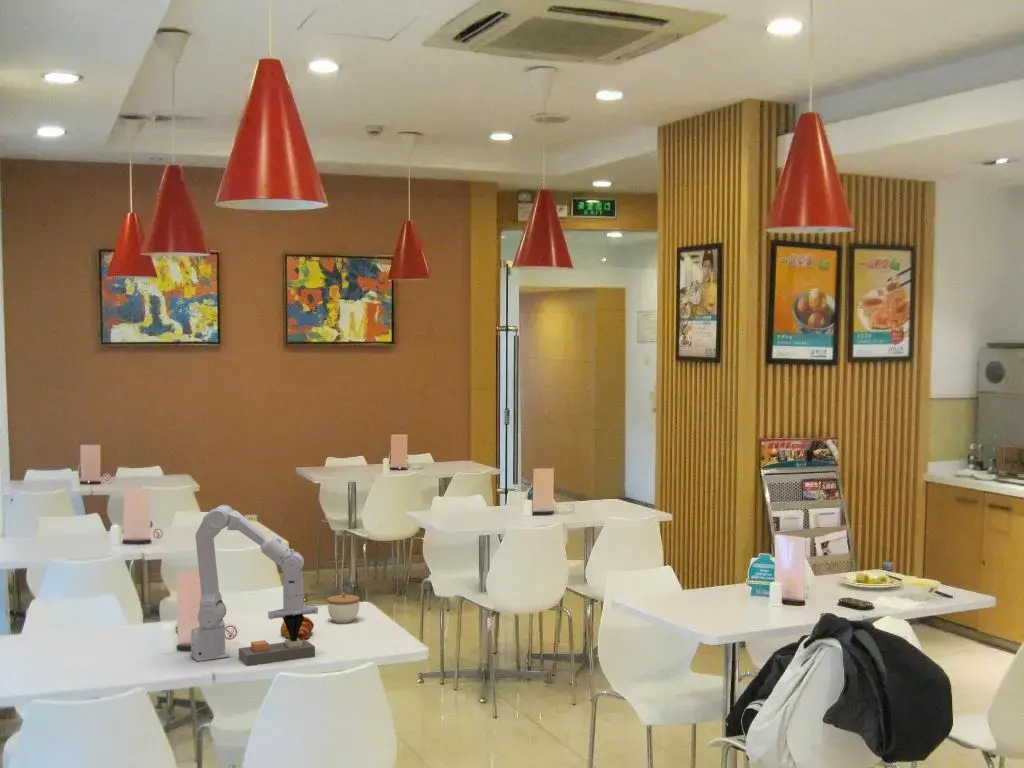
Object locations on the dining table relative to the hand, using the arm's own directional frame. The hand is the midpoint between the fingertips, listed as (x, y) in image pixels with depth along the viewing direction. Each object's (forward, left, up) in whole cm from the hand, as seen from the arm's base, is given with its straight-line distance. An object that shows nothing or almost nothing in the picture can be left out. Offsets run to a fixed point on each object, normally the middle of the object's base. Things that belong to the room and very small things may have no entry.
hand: (293, 640), depth 315 cm
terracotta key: (-10, 0, -2) cm, 10 cm away
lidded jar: (+28, +33, -5) cm, 44 cm away
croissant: (+9, +23, -5) cm, 25 cm away
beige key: (0, 0, -3) cm, 3 cm away
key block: (-5, 0, -4) cm, 7 cm away
